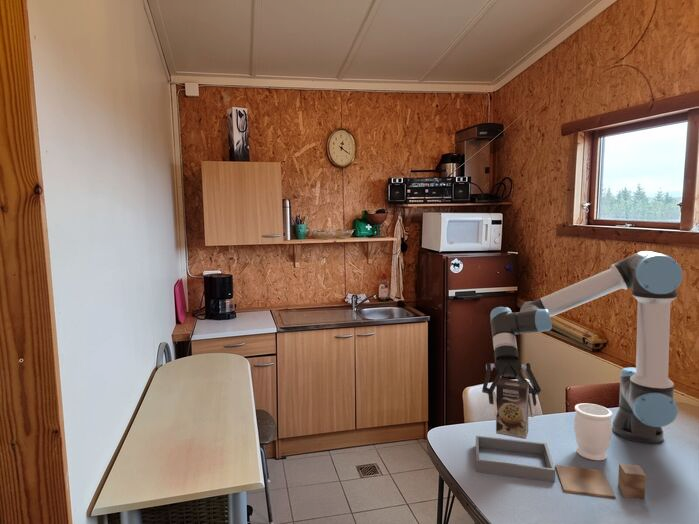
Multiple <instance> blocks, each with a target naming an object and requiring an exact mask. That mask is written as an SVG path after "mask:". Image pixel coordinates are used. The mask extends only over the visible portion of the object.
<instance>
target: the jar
mask: <svg viewBox="0 0 699 524" xmlns="http://www.w3.org/2000/svg"><path fill="white" fill-rule="evenodd" d="M574 410H575V416H574V421H573V422H574V423H573V429H574V436H575V437H574V438H575V441H576V444H577V448H576V452H577V454H578V455H579V456H581V457H583V458H585V459H588V460H592V461H604V460H605V459H607V457H608V456H607V453H606V452H607V450H608V449H609V446H610V441H611V439H612V432H613V429H612V425H613V424H612V421H611V420H612V419H611V418H612V417H613V412H612V411H611V410H610V409H609V408H607V407H605V406H603V405H599V404H595V403H587V402H586V403H584V402H583V403H582V402H581V403H577V404H576V405H574Z"/></svg>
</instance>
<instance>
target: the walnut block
mask: <svg viewBox="0 0 699 524" xmlns="http://www.w3.org/2000/svg"><path fill="white" fill-rule="evenodd" d="M617 478H618V479H617V481H618V482H617V488H618V489H619V491H620V493H621V495H622V496H623V498H627V499H634V500H641V501H642V500H645V498H646V481H647V474H646V473H645V472H644V470H643V469H642V467H641V466H640V465H638V464H629V463H622V462H621V463H620V462H619V463H618V477H617Z"/></svg>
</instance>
